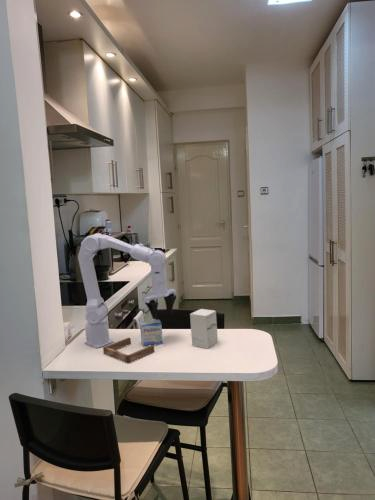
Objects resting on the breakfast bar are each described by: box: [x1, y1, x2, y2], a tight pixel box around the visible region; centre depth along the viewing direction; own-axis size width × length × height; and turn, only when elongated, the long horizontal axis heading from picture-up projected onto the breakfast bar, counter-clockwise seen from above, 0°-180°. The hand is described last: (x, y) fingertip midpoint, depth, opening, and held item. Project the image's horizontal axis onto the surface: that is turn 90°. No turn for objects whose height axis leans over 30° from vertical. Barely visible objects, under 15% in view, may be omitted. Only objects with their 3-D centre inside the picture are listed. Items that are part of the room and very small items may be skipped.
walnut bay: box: [102, 337, 155, 364], centre depth 153 cm, size 15×12×2 cm
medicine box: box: [139, 319, 164, 347], centre depth 160 cm, size 8×4×9 cm, turn 105°
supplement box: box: [189, 308, 219, 349], centre depth 155 cm, size 7×7×13 cm
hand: (162, 316), depth 160 cm, fingers open, 7 cm apart
